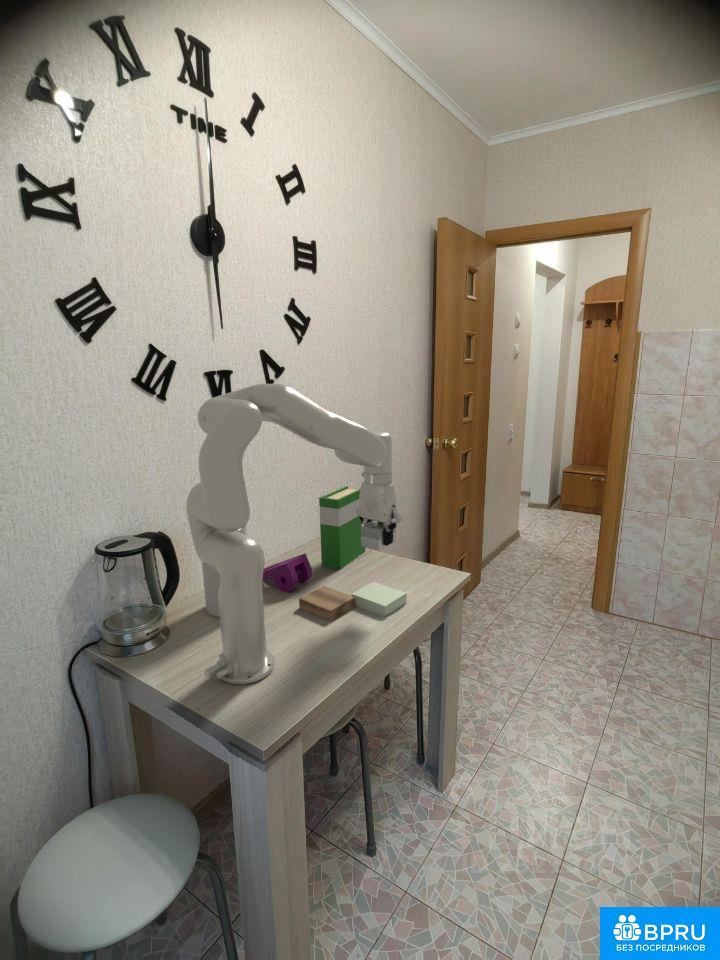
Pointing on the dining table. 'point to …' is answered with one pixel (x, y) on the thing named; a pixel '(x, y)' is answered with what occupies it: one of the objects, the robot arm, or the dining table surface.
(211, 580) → the cylinder vase
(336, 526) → the hardback book
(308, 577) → the mounting bracket
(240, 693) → the dining table surface
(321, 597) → the stand
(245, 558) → the robot arm
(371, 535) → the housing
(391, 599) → the stand
